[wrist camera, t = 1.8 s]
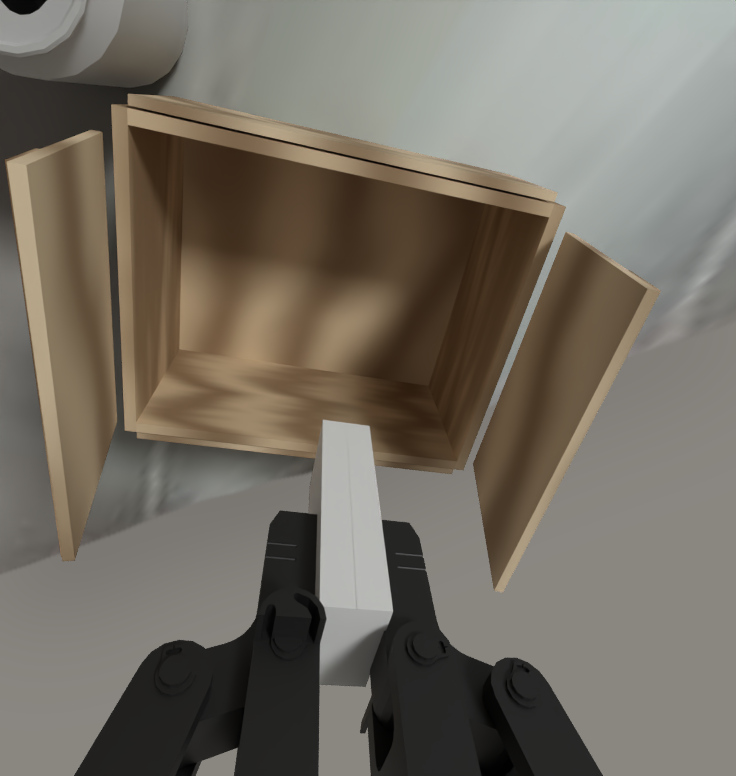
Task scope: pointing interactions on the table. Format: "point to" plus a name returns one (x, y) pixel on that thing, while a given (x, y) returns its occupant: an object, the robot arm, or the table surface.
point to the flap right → (554, 393)
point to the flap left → (68, 315)
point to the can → (92, 40)
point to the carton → (313, 284)
